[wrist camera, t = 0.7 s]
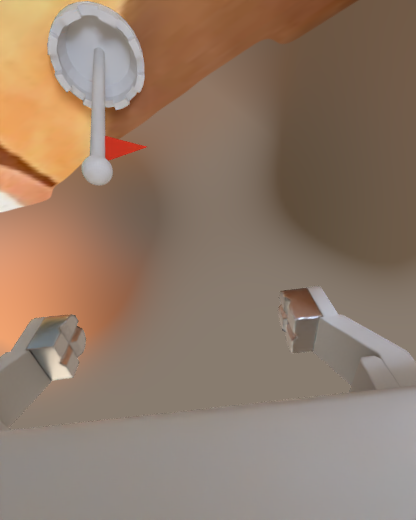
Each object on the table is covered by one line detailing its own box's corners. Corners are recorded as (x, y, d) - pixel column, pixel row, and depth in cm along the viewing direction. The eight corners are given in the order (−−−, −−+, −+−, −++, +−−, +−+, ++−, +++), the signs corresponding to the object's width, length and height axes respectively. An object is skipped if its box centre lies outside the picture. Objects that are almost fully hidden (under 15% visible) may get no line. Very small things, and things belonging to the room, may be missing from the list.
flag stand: (67, 94, 47) (49, 229, 31) (35, -10, 36) (-16, 115, 20) (145, 94, 50) (165, 219, 34) (137, -3, 39) (161, 113, 23)
